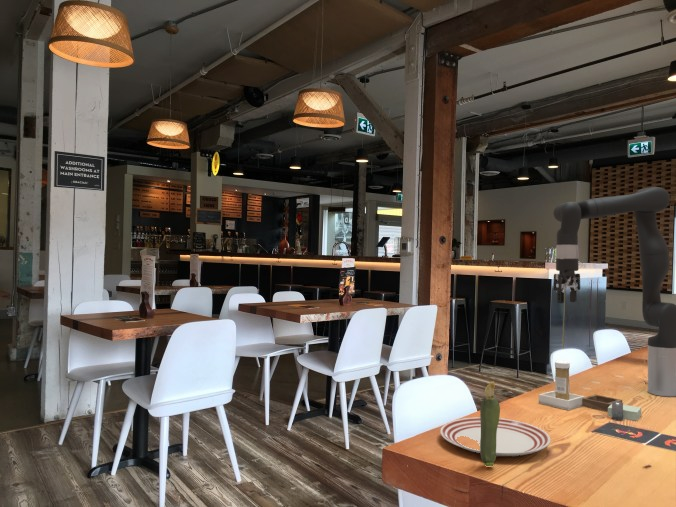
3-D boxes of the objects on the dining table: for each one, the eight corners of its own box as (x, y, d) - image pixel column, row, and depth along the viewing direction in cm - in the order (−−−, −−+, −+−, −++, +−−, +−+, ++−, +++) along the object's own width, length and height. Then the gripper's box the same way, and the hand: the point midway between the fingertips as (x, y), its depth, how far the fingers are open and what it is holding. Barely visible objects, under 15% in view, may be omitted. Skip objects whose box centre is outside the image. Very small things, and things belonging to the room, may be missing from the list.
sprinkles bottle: (572, 402, 176) (572, 362, 176) (564, 404, 174) (564, 363, 174) (560, 399, 180) (560, 359, 180) (551, 401, 178) (552, 361, 178)
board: (612, 412, 169) (612, 402, 169) (641, 417, 164) (641, 407, 164) (607, 417, 164) (607, 407, 164) (637, 422, 159) (637, 412, 159)
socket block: (595, 401, 181) (595, 394, 181) (622, 407, 173) (622, 400, 174) (581, 406, 175) (581, 398, 175) (609, 412, 168) (609, 404, 168)
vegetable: (477, 463, 124) (477, 377, 124) (495, 463, 125) (495, 377, 125) (484, 470, 120) (484, 382, 120) (502, 470, 120) (503, 382, 120)
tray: (555, 398, 184) (555, 390, 184) (584, 405, 176) (584, 396, 176) (538, 403, 178) (538, 394, 178) (568, 410, 170) (568, 401, 170)
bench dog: (614, 417, 163) (614, 400, 163) (624, 419, 160) (624, 402, 160) (610, 418, 161) (610, 402, 161) (620, 421, 159) (620, 404, 159)
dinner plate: (492, 473, 119) (492, 458, 119) (419, 436, 144) (419, 424, 144) (574, 453, 132) (574, 440, 132) (495, 423, 156) (495, 411, 156)
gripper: (567, 257, 198) (567, 301, 198) (546, 257, 189) (546, 302, 189) (587, 257, 192) (587, 302, 192) (566, 257, 184) (566, 304, 183)
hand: (567, 302), depth 191 cm, fingers open, 8 cm apart
